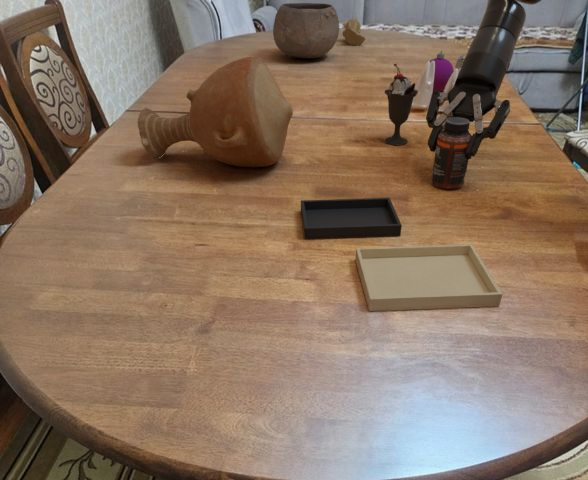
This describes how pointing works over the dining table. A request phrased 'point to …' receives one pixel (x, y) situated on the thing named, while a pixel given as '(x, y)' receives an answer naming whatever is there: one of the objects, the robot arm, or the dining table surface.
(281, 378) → the dining table surface
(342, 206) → the charcoal tray
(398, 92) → the sundae
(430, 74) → the shaker set
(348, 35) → the cat figurine
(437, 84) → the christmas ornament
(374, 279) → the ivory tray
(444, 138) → the supplement bottle
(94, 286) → the dining table surface
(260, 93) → the jug
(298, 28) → the clay pot
